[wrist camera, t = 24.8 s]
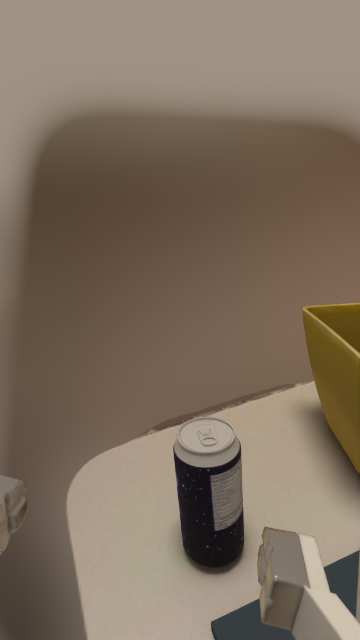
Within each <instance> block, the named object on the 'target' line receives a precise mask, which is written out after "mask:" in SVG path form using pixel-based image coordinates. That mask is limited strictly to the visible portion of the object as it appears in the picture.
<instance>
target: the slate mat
mask: <svg viewBox="0 0 360 640" xmlns="http://www.w3.org/2000/svg"><path fill="white" fill-rule="evenodd" d="M359 554H360V550H359V551H357V552H355V553H353V554H351V555H349V556H347V557H344V558H342V559H340V560H338V561H336V562H334V563H332V564H330V565H328V566H326V567H324V571H325V574H326V578H327V582H328V585H329V589H330V593H334V594H336V595H337V596H338V597H339V599H340V600H341V601H342V602H343V604H344V605H345V606H346V607H347V609H348V610H349V611H350V613H351V614H352V615H353V616H354V618H355V619H356V608H357V590H358V572H359ZM211 630H212V632H213V635H214V638H215V640H295V638H294V636H293V635H292V633H291V632H292V631H290V630H286V629H283V628H279V627H275V626H271V625H267V624H263V623H262V621H261V609H260V599H258V600H256V601H253V602H251V603H249V604H247V605H245V606H243V607H241V608H239V609H237V610H235V611H233V612H231V613H229V614H227V615H225V616H222V617H220V618H218V619H216V620H214V621H212V622H211Z"/></svg>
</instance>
